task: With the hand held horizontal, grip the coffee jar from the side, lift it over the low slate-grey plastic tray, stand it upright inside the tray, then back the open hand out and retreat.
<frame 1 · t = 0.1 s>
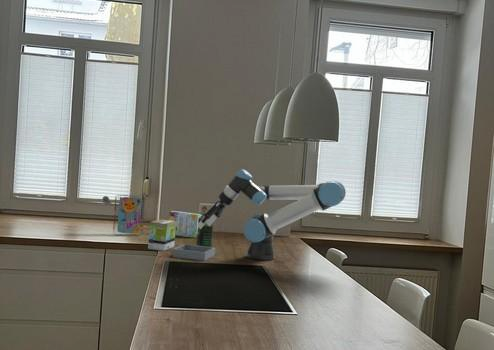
hand: (203, 225, 269), 15 cm above the countertop, tool tilted 35°, fingers open, 13 cm apart
tray: (194, 255, 266), on the countertop
box: (120, 235, 313), on the countertop
coffee jar: (203, 250, 285), on the countertop
tea box: (161, 248, 281), on the countertop
snack box: (183, 236, 329), on the countertop
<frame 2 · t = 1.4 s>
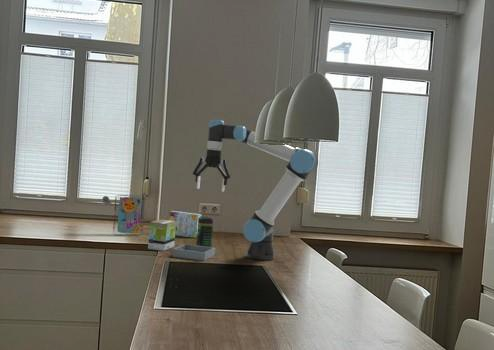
hand: (210, 190, 268), 34 cm above the countertop, tool pointing down, fingers open, 13 cm apart
nothing on the countertop moved.
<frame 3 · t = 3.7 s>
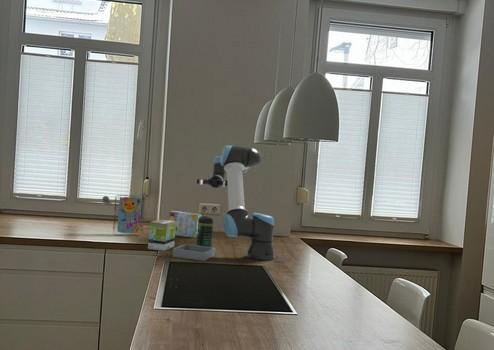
hand: (211, 183, 298), 36 cm above the countertop, tool horizontal, fingers open, 13 cm apart
nothing on the countertop moved.
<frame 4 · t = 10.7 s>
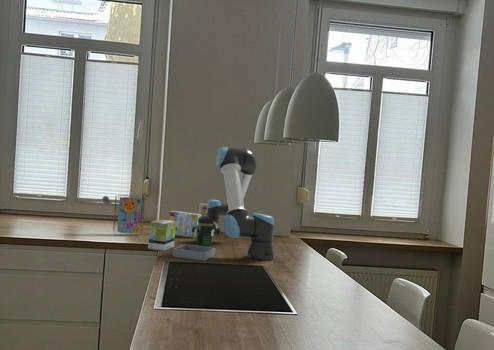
hand: (203, 232, 280), 10 cm above the countertop, tool horizontal, fingers closed on coffee jar, 8 cm apart
coffee jar: (203, 250, 285), on the countertop, touching gripper
everything else where it was.
when the fingers open (12 cm above the countertop, at t = 19.5 s): coffee jar stays where it is, resting on tray.
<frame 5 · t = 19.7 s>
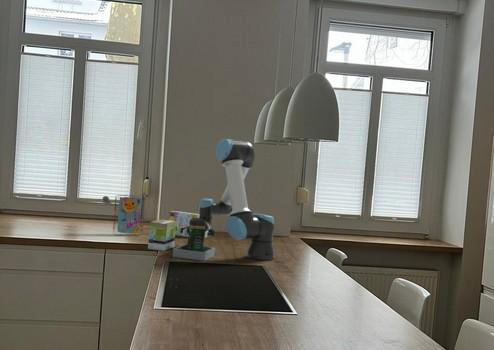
hand: (194, 233, 261), 12 cm above the countertop, tool horizontal, fingers open, 10 cm apart
coffee jar: (194, 254, 266), point 1 cm above the countertop, touching tray
everything else where it was.
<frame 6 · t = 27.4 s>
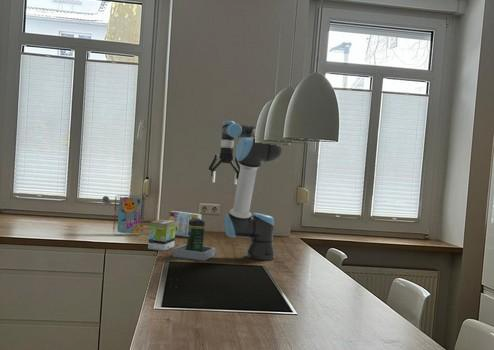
hand: (224, 183, 303), 37 cm above the countertop, tool pointing down, fingers open, 13 cm apart
nothing on the countertop moved.
at the end: coffee jar inside the target area on the tray (0.1 cm from its centre), point 0.8 cm above the tray's base; coffee jar tilted 0°; the gripper is holding nothing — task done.
